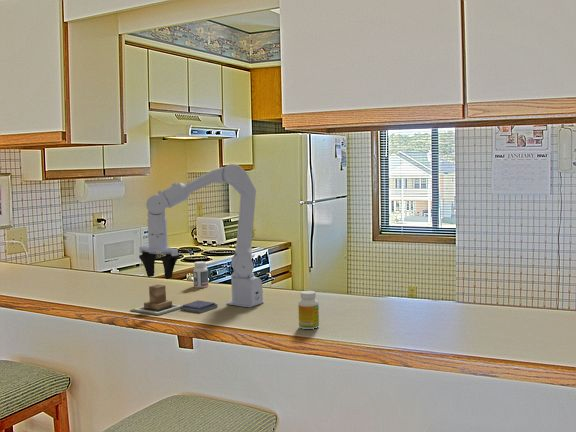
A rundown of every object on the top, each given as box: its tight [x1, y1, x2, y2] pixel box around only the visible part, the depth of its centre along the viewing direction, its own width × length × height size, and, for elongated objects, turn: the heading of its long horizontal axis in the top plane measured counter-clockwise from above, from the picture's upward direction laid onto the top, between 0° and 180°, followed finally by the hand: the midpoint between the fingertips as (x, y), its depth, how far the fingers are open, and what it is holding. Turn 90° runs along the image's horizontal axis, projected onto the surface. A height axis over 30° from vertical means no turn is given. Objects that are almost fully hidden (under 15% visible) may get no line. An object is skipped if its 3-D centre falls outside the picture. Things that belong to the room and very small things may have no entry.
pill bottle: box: [192, 260, 209, 289], centre depth 229 cm, size 5×5×9 cm
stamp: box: [143, 284, 173, 311], centre depth 195 cm, size 6×6×7 cm
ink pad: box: [180, 299, 218, 314], centre depth 195 cm, size 8×8×2 cm
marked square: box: [129, 303, 183, 317], centre depth 196 cm, size 12×12×1 cm
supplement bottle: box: [298, 290, 320, 330], centre depth 171 cm, size 5×5×10 cm
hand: (159, 277), depth 196 cm, fingers open, 7 cm apart
